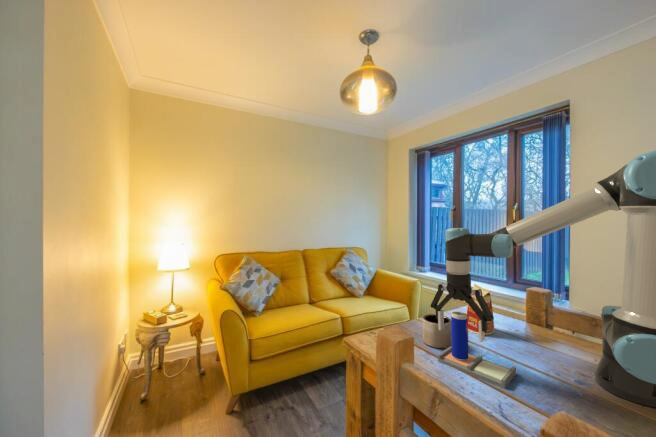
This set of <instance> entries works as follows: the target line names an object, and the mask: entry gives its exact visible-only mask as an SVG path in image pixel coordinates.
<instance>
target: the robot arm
mask: <svg viewBox="0 0 656 437" xmlns="http://www.w3.org/2000/svg"><path fill="white" fill-rule="evenodd" d="M621 210H622V211H623V212H624V213H625V214H626V215H627V219H626V235H625V251H624V265H623V278H622V279H623V281H622V282H623V283H622V296H621V298H622V299H621V305H620V306H619V305H604V306H603V307H602V308H601V313H600V317H601V343H602V346H601V348H602V355H601V357H600V359H599V362H598V363H597V365H596V368H595V370H594V381H595V382H596V384H598V386H599V387H600V388H602V389H604V390H606V391H607V392H609V393H611V394H613V395H615V396H616V397H619V398H621V399H624V400H627V401H629V402H632V403H636V404H639V405H642V406H646V407H652V408H656V150H651V151H648V152H645V153H641V154H640V155H637V156H636V157H634V158H632V159H631V160H630V161H629V162H628V163H627V164H624V166H622V167H621V168H619V169H618V170H617V171H616V172H614V173H612V174H610V175H609V176H607V177H605V178H603V179H601V180H599V181H597V182H595V183H594V184H593V186H592V187H591V188H590V189H588V190H585V191H582V192H580V193H578V194H577V195H574V196H571V197H570V198H568V199H565V200H563V201H560V202H558V203H556V204H554V205H551V206H549V207H547V208H545V209H542V210H540V211H538V212H536V213H533V214H531V215H528V216H527V217H525V218H522V219H520V220H518V221H515V222H514V223H511V224H507V226H504V227H502V228H500V229H498V230H495V231H493V232H491V233H490V232H489V233H471V232H470V229H469V228H467V227H451V228H447V229H445V240H444V242H445V262H446V263H445V266H446V267H445V270H446V272H447V273H446V284H445V283H439V284H437V291H436V293H435V295H434V297H433V300H432V301H431V304H430V308H433V309H434V310H435V314H436V319H438V327H439V330H442V329H443V328H444V316H445V314H444V313H445V312H444V309H443V308H444V307H445V306H446V305H447V304H448V303H449V302H450V300H451V299H453V300H456V301H457V300H458V301H460V302H461V301H462V302H464V301H465V304H467V305H468V304H469V306H470V307H471V308H472V310H473V311H474V312H475V313H476V315H477V316H478V317H479V318H480V321H478V322H479V335H478V341H479V342H480V343H483V342H484V341H485V340H486V335H485V332H486V331H487V330H488V325H487V321H492V320H493V319H495V317H494V314H493V315H492V313H491V311H490V309H489V307H488V305H487V304H486V302H485V300H484V298H483V296H482V290H481V289H478V290H472V289H473V288H472V278H471V277H472V275H471V274H470V273H471V257H485V258H497V259H502V258H504V259H507V258H511V257H513V251H514V249H515V248H517V247H519V246H521V245H523V244H527V243H529V242H532V241H534V240H537V239H539V238H541V237H544V236H546V235H549V234H552V233H554V232H557V231H560V230H562V229H565V228H568V227H571V226H572V225H573V226H574V225H575V224H577V223H580V222H583V221H586V220H587V219H590V218H593V217H595V216H598V215H600V214H603V213H606V212H608V211H613V212H614V211H615V212H618V211H621ZM445 291H447V292H448V293H447V294H446V295H445V297H444V298H443V299H442V300H441V298H442V296H443V294H444V292H445ZM472 293H473V294H474V296H476V299H477V301H478V303H479V305H480V307H481V309H482V310H481V309H480V308H479V306H478V305H477V304H476V303H475V301H474V299H473V298H472V297H471V294H472ZM440 300H441V301H440ZM439 302H440V303H439Z"/></svg>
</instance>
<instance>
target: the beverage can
mask: <svg viewBox="0 0 656 437" xmlns="http://www.w3.org/2000/svg"><path fill="white" fill-rule="evenodd" d="M450 319H451V336H452V356H453V357H454V358H455V359H457V360H460V361H465V360H467V359H468V354H469V331H468V317H467V314H466V312H465V313H464V312H460V311H452V313H451V316H450Z"/></svg>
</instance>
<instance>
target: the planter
mask: <svg viewBox="0 0 656 437" xmlns="http://www.w3.org/2000/svg"><path fill="white" fill-rule="evenodd" d="M422 342H423V343H424V344H425V345H426V346H428V347H430V348H434V349H440V350H441V349H443V350H445V349H447V348H449V347H450V346H451V345H452V336H451V317H447V316H445V315H444V328H443V329H442V330H439V327H438V319H436V313H435V314H434V313H432V314H431V313H429V314H425V315H423V316H422Z"/></svg>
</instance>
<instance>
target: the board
mask: <svg viewBox="0 0 656 437" xmlns="http://www.w3.org/2000/svg"><path fill="white" fill-rule="evenodd" d="M437 362H438V363H442V364H444V365H446V366H449V367H452V368H454V369H456V370H458V371H461V372H462V373H466V374H467V375H470V376H473V377H475V378H478V379H480V380H483V381H484V382H485V381H486V382H487V383H490V384H492V385H495V386H498V387H500V388H502V389H505V388H506V387H508V385H509V384H510V382H511V381H512V380H513V378H515V376H517V366H514V365H512V366H511V368H510V367H506V366H503V365H501V364H499V363H497V362H496V363H495V362H492V361H490V360H488V359H487V360H486V359H484V358H483V355H480V354H479V355H478V356H475V355H473V354H470V353H468V359H467V360H465V361H460V360H457V359H455V358H454V357H453V356H452V345H451V346H450V347H448V348H445V349H443V351H441V352H440V353H438V354H437Z"/></svg>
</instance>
